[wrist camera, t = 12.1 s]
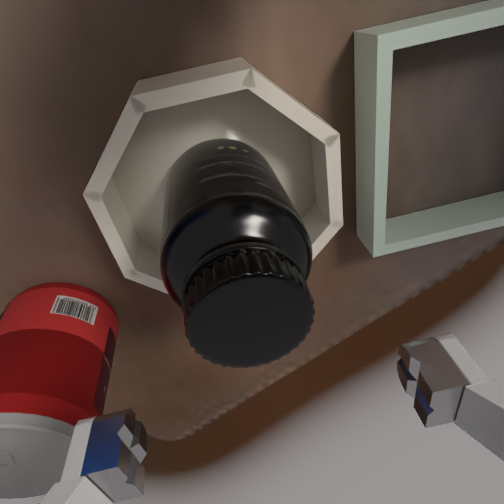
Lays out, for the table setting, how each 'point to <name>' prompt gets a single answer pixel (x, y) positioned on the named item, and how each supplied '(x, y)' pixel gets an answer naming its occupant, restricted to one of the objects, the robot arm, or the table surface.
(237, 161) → the supplement bottle
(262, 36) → the table surface
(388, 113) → the tray
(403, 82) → the table surface
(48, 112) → the table surface
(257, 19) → the table surface
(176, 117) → the bowl
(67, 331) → the canned food
